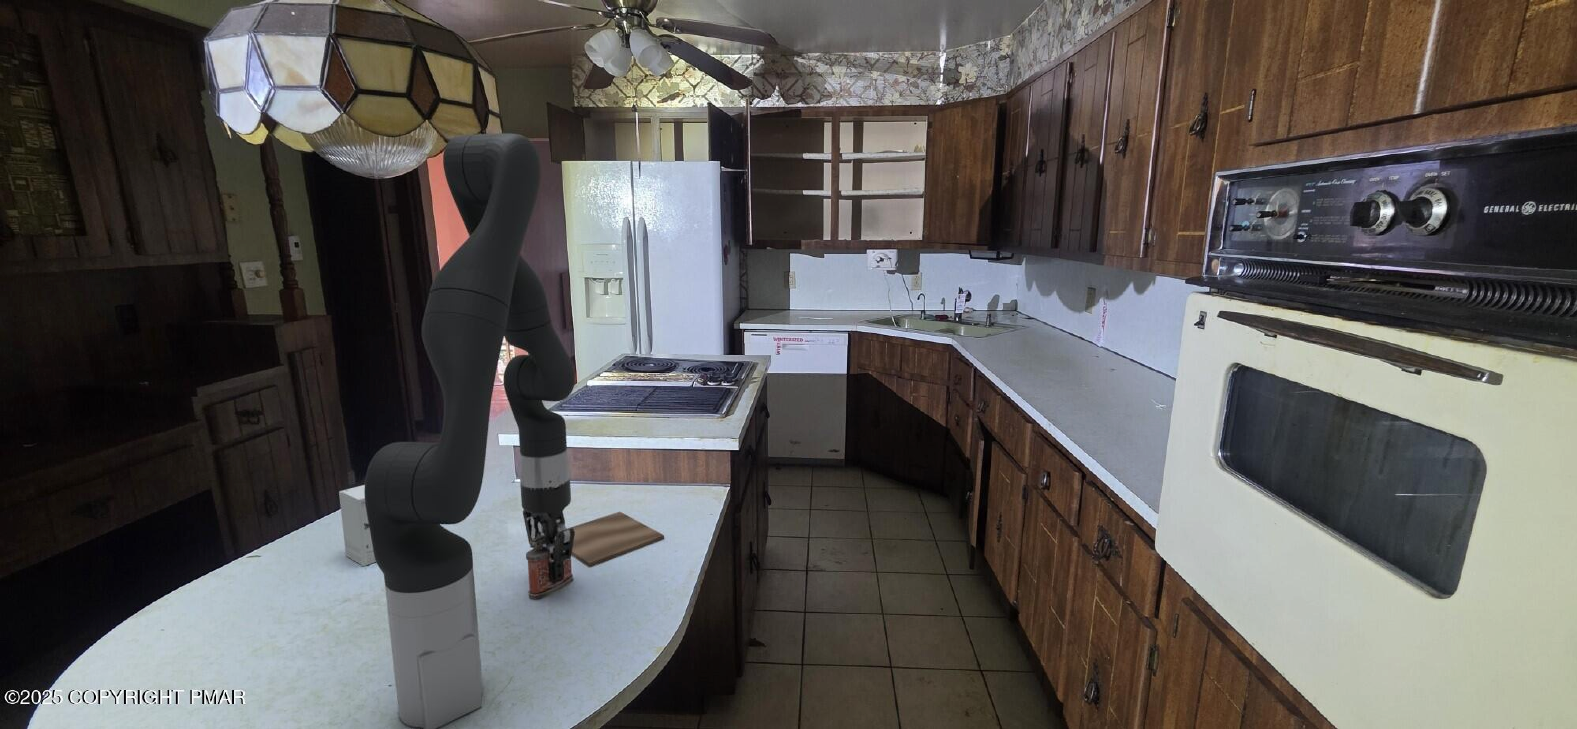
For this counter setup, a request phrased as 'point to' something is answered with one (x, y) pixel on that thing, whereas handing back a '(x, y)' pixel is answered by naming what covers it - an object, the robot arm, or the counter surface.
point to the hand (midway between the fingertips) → (550, 575)
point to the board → (610, 538)
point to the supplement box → (356, 526)
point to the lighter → (544, 571)
